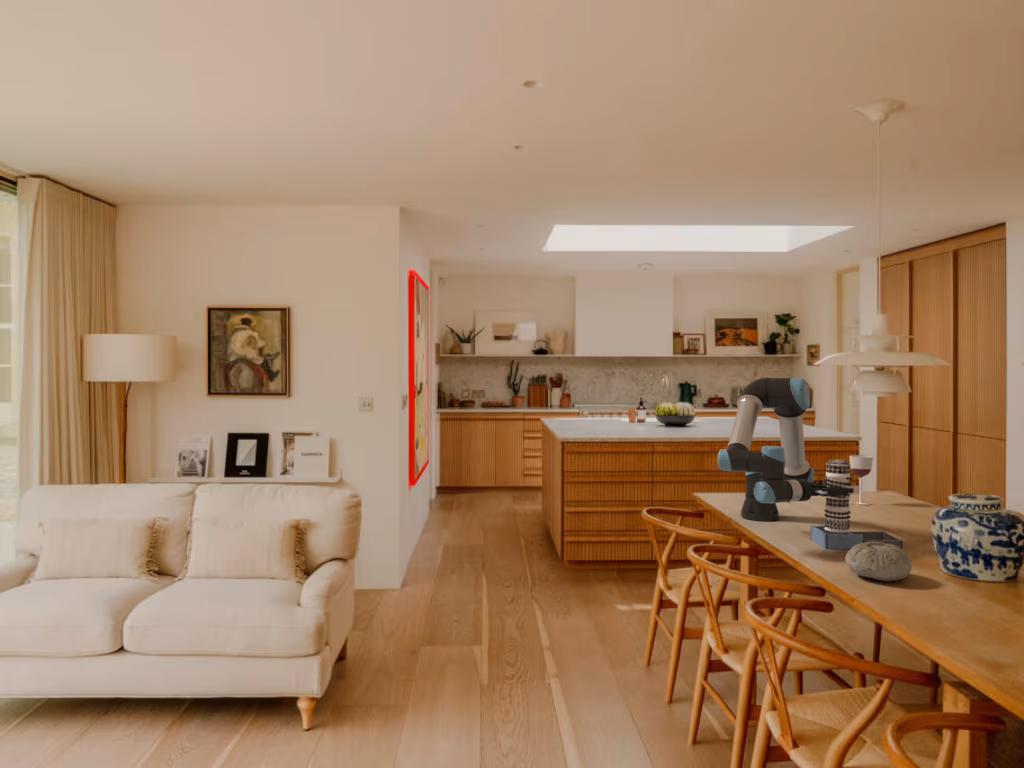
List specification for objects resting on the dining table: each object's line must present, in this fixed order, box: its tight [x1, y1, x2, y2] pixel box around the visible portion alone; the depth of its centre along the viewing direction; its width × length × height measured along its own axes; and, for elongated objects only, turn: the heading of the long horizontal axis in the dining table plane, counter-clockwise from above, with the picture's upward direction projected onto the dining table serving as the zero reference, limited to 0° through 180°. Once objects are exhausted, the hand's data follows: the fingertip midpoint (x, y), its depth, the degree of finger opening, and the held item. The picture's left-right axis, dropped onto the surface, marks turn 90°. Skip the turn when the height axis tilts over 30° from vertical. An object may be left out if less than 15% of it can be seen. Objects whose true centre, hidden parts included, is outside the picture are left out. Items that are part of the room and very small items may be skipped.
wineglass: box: [849, 454, 874, 504], centre depth 330 cm, size 9×10×22 cm
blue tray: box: [809, 524, 863, 550], centre depth 257 cm, size 13×18×5 cm
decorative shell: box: [844, 541, 913, 582], centre depth 218 cm, size 18×18×10 cm
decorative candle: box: [823, 458, 853, 533], centre depth 257 cm, size 9×9×25 cm
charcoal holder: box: [847, 530, 904, 550], centre depth 257 cm, size 14×14×3 cm
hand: (848, 487), depth 258 cm, fingers closed on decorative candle, 9 cm apart
